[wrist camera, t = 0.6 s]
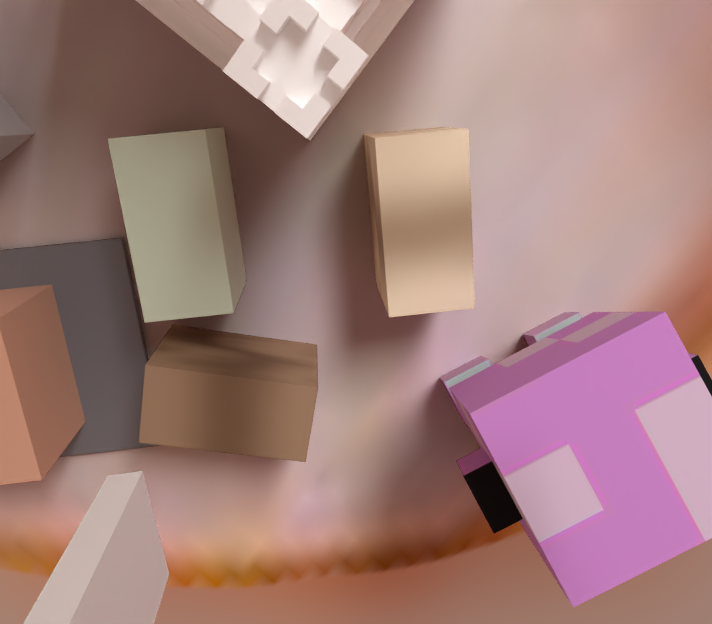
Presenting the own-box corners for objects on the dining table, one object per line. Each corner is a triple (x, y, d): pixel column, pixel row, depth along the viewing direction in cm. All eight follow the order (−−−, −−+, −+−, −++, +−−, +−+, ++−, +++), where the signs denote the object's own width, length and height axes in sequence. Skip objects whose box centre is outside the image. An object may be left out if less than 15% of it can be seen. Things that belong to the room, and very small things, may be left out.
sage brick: (144, 134, 32) (107, 138, 26) (224, 127, 32) (205, 129, 26) (172, 287, 34) (144, 322, 28) (246, 280, 34) (233, 313, 28)
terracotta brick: (-26, 292, 33) (-97, 329, 27) (52, 284, 33) (-3, 319, 27) (13, 429, 35) (-45, 490, 30) (85, 421, 35) (41, 480, 30)
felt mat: (-112, 261, 32) (-117, 263, 32) (123, 237, 33) (121, 238, 33) (-46, 465, 36) (-50, 469, 36) (164, 441, 37) (163, 445, 36)
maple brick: (363, 134, 32) (374, 137, 27) (440, 126, 32) (468, 128, 27) (376, 284, 35) (389, 317, 29) (448, 276, 35) (474, 308, 29)
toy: (480, 501, 38) (540, 623, 23) (417, 384, 38) (437, 430, 23) (639, 420, 38) (806, 490, 23) (575, 302, 38) (698, 294, 23)
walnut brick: (166, 390, 36) (138, 442, 30) (172, 324, 35) (145, 365, 29) (306, 408, 37) (305, 462, 31) (316, 344, 36) (318, 387, 30)
